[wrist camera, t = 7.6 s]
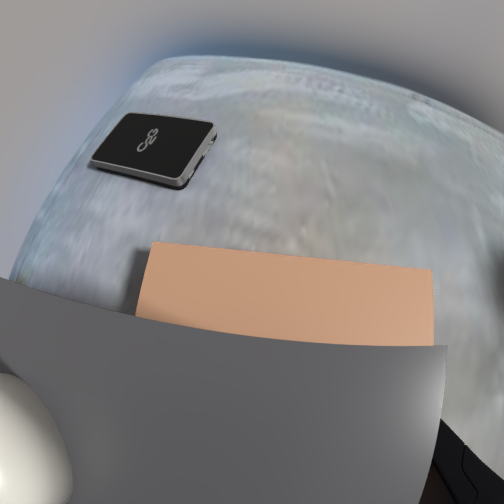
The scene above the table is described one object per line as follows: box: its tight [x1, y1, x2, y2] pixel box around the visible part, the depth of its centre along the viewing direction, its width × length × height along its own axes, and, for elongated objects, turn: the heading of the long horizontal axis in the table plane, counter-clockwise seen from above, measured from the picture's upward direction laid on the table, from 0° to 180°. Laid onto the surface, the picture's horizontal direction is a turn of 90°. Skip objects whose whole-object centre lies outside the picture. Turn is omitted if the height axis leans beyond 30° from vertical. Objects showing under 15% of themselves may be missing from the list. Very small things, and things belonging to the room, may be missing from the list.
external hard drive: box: [91, 112, 217, 190], centre depth 24 cm, size 7×11×2 cm, turn 69°
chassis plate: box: [135, 242, 434, 346], centre depth 14 cm, size 18×18×3 cm
